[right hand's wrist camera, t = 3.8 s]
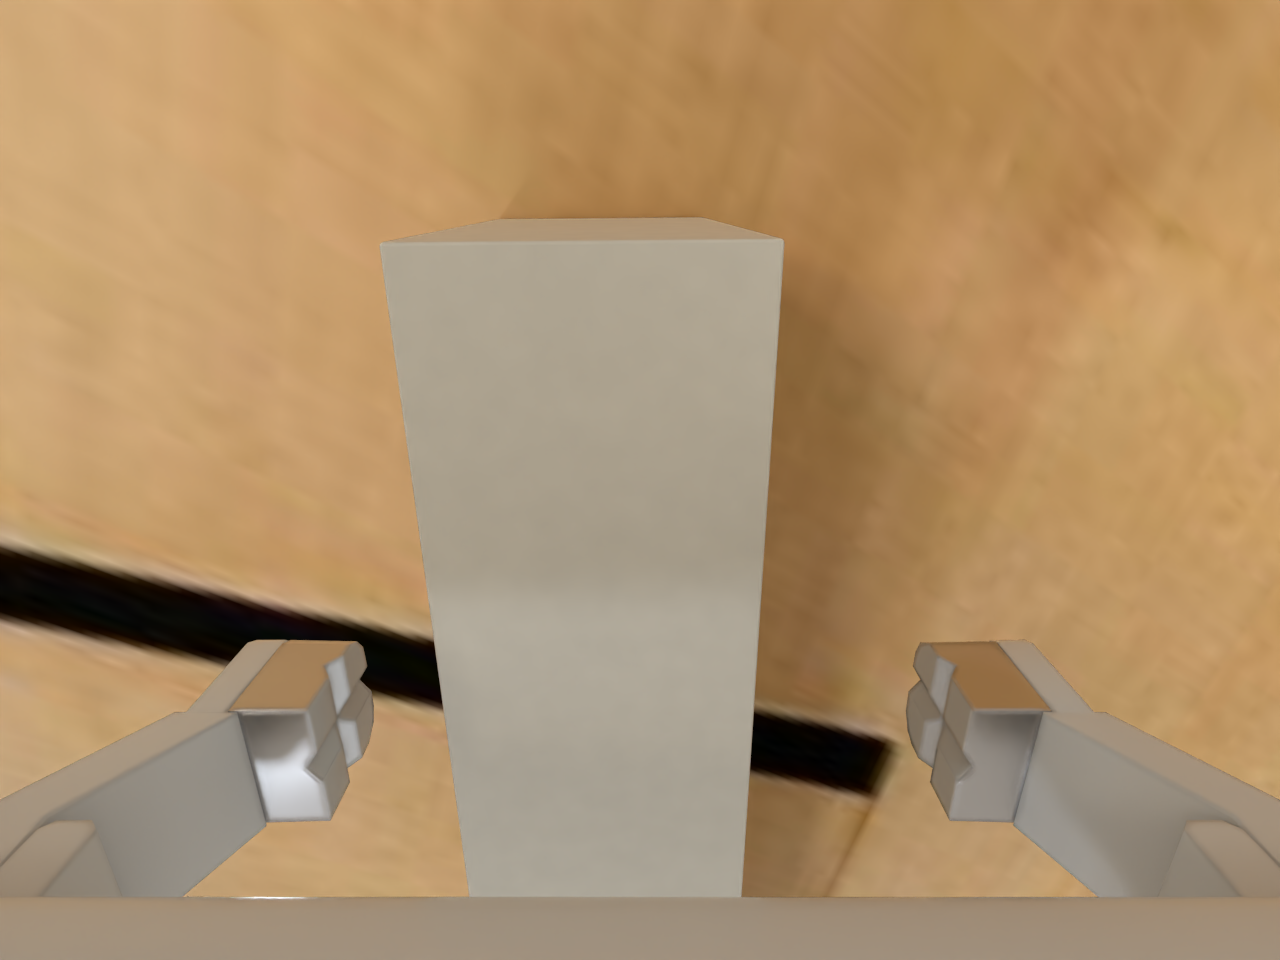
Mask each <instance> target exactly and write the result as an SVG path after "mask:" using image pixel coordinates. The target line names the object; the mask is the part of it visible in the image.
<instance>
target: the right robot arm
mask: <svg viewBox="0 0 1280 960" xmlns="http://www.w3.org/2000/svg"><path fill="white" fill-rule="evenodd" d="M366 667H367V664H366V659H365V654H364V650H363V647H362V646H361V645H360V644H359V643H358V642H353V641H305V640H290V641H287V640H256V641H252V642H249V643H247V644H246V645H245V646H244V647H243V649H242V650H241V651H240V652H239V653H238V654H237V655H236V656H235V658H234V659H233V660H232V661H231V662H230V663H229V664H228V665H227V667H226V668H225V669H224V670H223V671H222V672H221V673H220V674H219V676H218V677H217V678H216V679H215V680H214V681H213V682H212V683H211V685H210V686H209V687H208V688H207V689H206V690H205V691H204V692H203V694H202V695H201V696H200V697H199V698H198V699H197V700H196V701H195V703H194V704H193V705H192V706H191V707H190V708H189V709H188V710H187V712H174V713H172V714H170V715H168V716H166V717H164V718H162V719H160V720H158V721H156V722H154V723H152V724H150V725H148V726H146V727H144V728H142V729H140V730H138V731H136V732H134V733H132V734H130V735H128V736H126V737H124V738H122V739H120V740H118V741H116V742H114V743H112V744H110V745H108V746H106V747H104V748H102V749H100V750H98V751H96V752H94V753H92V754H90V755H88V756H86V757H84V758H82V759H80V760H78V761H76V762H74V763H72V764H70V765H69V766H67V767H65V768H63V769H61V770H59V771H57V772H55V773H53V774H51V775H49V776H47V777H45V778H43V779H41V780H39V781H37V782H35V783H33V784H31V785H29V786H27V787H25V788H23V789H21V790H19V791H17V792H15V793H13V794H11V795H9V796H7V797H5V798H3V799H1V800H0V960H1280V800H1279V799H1277V798H1275V797H1273V796H1271V795H1269V794H1267V793H1265V792H1263V791H1261V790H1259V789H1257V788H1255V787H1253V786H1251V785H1249V784H1247V783H1245V782H1243V781H1241V780H1239V779H1237V778H1235V777H1233V776H1231V775H1229V774H1227V773H1225V772H1223V771H1221V770H1219V769H1217V768H1215V767H1213V766H1211V765H1209V764H1207V763H1205V762H1203V761H1201V760H1199V759H1197V758H1195V757H1193V756H1191V755H1189V754H1187V753H1185V752H1183V751H1181V750H1179V749H1177V748H1175V747H1173V746H1171V745H1169V744H1167V743H1165V742H1164V741H1162V740H1160V739H1158V738H1156V737H1154V736H1152V735H1150V734H1148V733H1146V732H1144V731H1142V730H1140V729H1138V728H1136V727H1134V726H1132V725H1130V724H1128V723H1126V722H1124V721H1122V720H1120V719H1118V718H1116V717H1114V716H1112V715H1110V714H1108V713H1106V712H1093V710H1092V709H1091V708H1090V707H1089V706H1088V705H1087V704H1086V703H1085V701H1084V700H1083V699H1082V698H1081V697H1080V696H1079V695H1078V694H1077V692H1076V691H1075V690H1074V689H1073V688H1072V687H1071V686H1070V685H1069V683H1068V682H1067V681H1066V680H1065V679H1064V678H1063V677H1062V676H1061V674H1060V673H1059V672H1058V671H1057V670H1056V669H1055V668H1054V667H1053V665H1052V664H1051V663H1050V662H1049V661H1048V660H1047V659H1046V658H1045V656H1044V655H1043V654H1042V653H1041V652H1040V651H1039V650H1038V649H1037V647H1036V646H1035V645H1034V644H1033V643H1031V642H1028V641H1026V640H996V641H987V642H920V644H919V646H918V648H917V650H916V653H915V658H914V663H913V667H914V669H915V671H916V672H917V674H918V676H919V678H920V679H921V680H920V681H919V682H918V683H917V684H916V685H915V686H914V687H913V688H912V689H911V690H910V691H909V692H908V700H907V707H906V717H907V728H908V733H909V736H910V740H911V743H912V746H913V748H914V750H915V752H916V754H917V756H918V758H919V759H921V760H922V761H923V762H925V763H926V764H928V765H929V766H931V767H932V768H933V770H932V775H931V780H930V783H931V785H932V787H933V789H934V791H935V793H936V795H937V797H938V798H939V800H940V802H941V804H942V806H943V808H944V810H945V812H946V814H947V816H948V818H949V820H950V821H983V822H1014V824H1013V825H1014V826H1015V827H1016V828H1017V829H1018V830H1019V831H1021V832H1022V833H1023V834H1024V835H1025V836H1027V837H1028V838H1029V839H1030V840H1031V841H1033V842H1034V843H1035V844H1036V845H1037V846H1038V847H1040V848H1041V849H1042V850H1043V851H1044V852H1046V853H1047V854H1048V855H1049V856H1050V857H1051V858H1053V859H1054V860H1055V861H1056V862H1057V863H1059V864H1060V865H1061V866H1062V867H1063V868H1065V869H1066V870H1067V871H1068V872H1069V873H1070V874H1072V875H1073V876H1074V877H1075V878H1076V879H1078V880H1079V881H1080V882H1081V883H1082V884H1084V885H1085V886H1086V887H1087V888H1088V889H1089V890H1091V891H1092V892H1093V893H1094V894H1095V895H1097V896H1098V897H182V896H184V895H185V894H186V893H187V892H188V891H190V890H191V889H192V888H193V887H194V886H195V885H197V884H198V883H199V882H200V881H201V880H203V879H204V878H205V877H206V876H207V875H209V874H210V873H211V872H212V871H213V870H215V869H216V868H217V867H218V866H219V865H220V864H222V863H223V862H224V861H225V860H226V859H228V858H229V857H230V856H231V855H232V854H234V853H235V852H236V851H237V850H238V849H239V848H241V847H242V846H243V845H244V844H245V843H247V842H248V841H249V840H250V839H251V838H253V837H254V836H255V835H256V834H257V833H259V832H260V831H261V830H262V829H263V828H264V827H266V822H296V821H330V820H331V818H332V816H333V814H334V813H335V811H336V809H337V807H338V805H339V803H340V801H341V799H342V797H343V795H344V793H345V791H346V789H347V787H348V785H349V783H350V780H349V775H348V770H347V768H348V767H349V766H351V765H352V764H354V763H355V762H357V761H358V760H359V759H361V758H362V756H363V754H364V752H365V750H366V748H367V746H368V744H369V741H370V736H371V731H372V727H373V722H374V705H373V698H372V692H371V691H370V690H369V689H368V688H367V687H366V686H365V685H364V684H363V683H362V682H361V681H360V678H361V676H362V674H363V672H364V671H365V669H366Z"/></svg>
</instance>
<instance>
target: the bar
mask: <svg viewBox="0 0 1280 960" xmlns="http://www.w3.org/2000/svg"><path fill="white" fill-rule="evenodd" d="M380 253H381V260H382V267H383V274H384V282H385V289H386V296H387V303H388V310H389V318H390V325H391V332H392V339H393V347H394V354H395V361H396V368H397V376H398V383H399V390H400V397H401V405H402V412H403V419H404V426H405V434H406V441H407V448H408V455H409V463H410V470H411V477H412V484H413V492H414V499H415V506H416V513H417V521H418V528H419V535H420V542H421V549H422V557H423V564H424V571H425V578H426V586H427V593H428V600H429V607H430V615H431V622H432V629H433V636H434V644H435V651H436V658H437V665H438V673H439V680H440V687H441V694H442V702H443V709H444V716H445V723H446V731H447V738H448V745H449V752H450V760H451V767H452V774H453V781H454V789H455V796H456V803H457V810H458V817H459V825H460V832H461V839H462V846H463V854H464V861H465V868H466V875H467V883H468V890H469V897H742V881H743V866H744V851H745V836H746V820H747V805H748V790H749V775H750V760H751V744H752V729H753V714H754V699H755V683H756V668H757V653H758V638H759V623H760V607H761V592H762V577H763V562H764V547H765V531H766V516H767V501H768V486H769V470H770V455H771V440H772V425H773V410H774V394H775V379H776V364H777V349H778V333H779V318H780V303H781V288H782V273H783V257H784V240H783V239H781V238H778V237H774V236H770V235H767V234H763V233H759V232H755V231H752V230H748V229H744V228H741V227H737V226H733V225H729V224H726V223H722V222H718V221H714V220H711V219H707V218H703V217H675V218H558V219H497V220H492V221H487V222H482V223H477V224H471V225H466V226H461V227H456V228H451V229H446V230H441V231H436V232H431V233H426V234H421V235H416V236H411V237H406V238H401V239H396V240H390V241H385V242H382V243H380Z"/></svg>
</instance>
